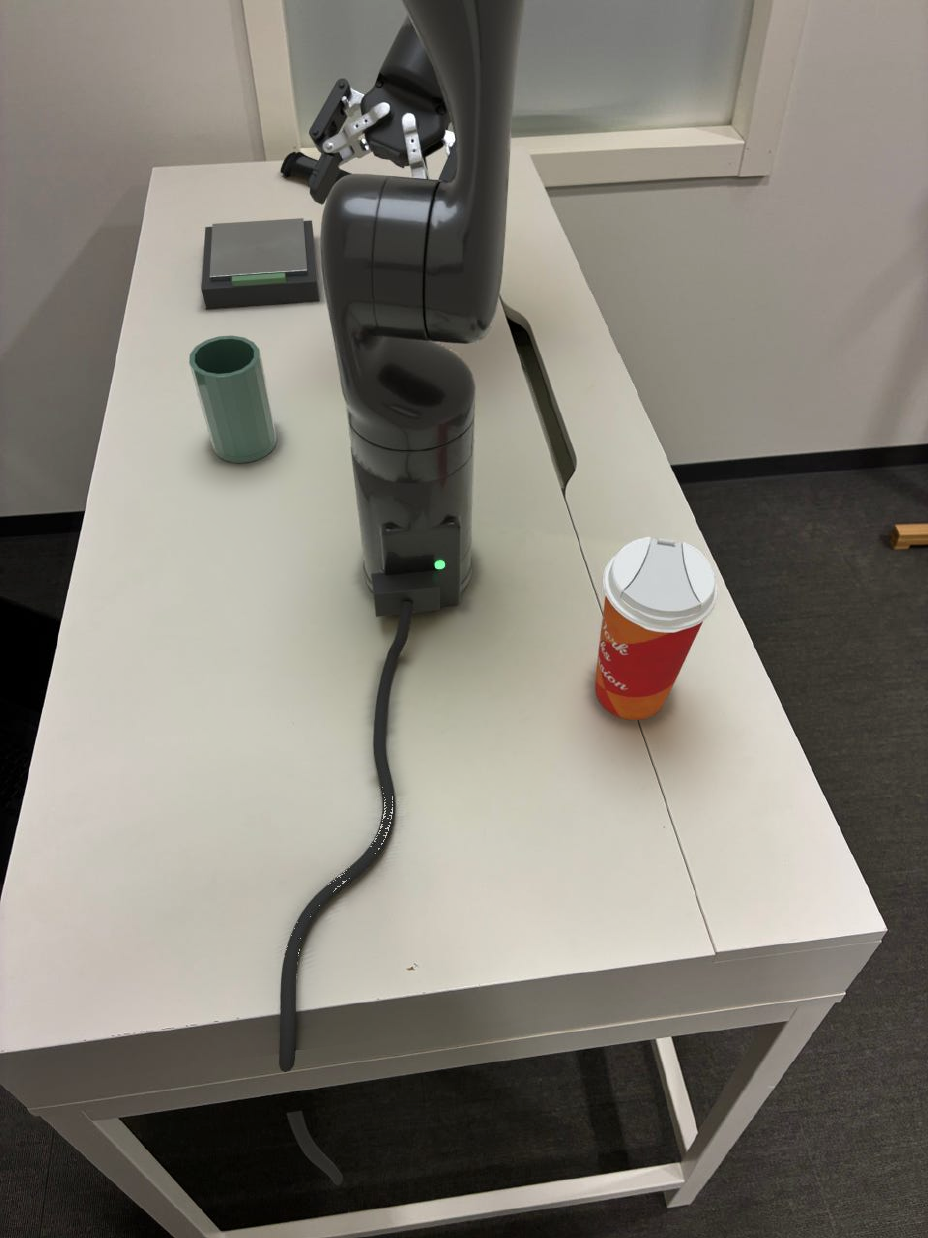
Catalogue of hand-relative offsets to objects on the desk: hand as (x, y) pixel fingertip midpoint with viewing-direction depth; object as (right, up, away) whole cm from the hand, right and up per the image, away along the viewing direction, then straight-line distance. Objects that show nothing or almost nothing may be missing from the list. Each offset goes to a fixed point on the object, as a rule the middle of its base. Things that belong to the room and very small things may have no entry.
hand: (355, 217), depth 79 cm
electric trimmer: (-8, +22, +40) cm, 47 cm away
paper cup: (+23, -42, -10) cm, 49 cm away
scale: (-15, +5, +27) cm, 31 cm away
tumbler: (-12, -19, +7) cm, 23 cm away
